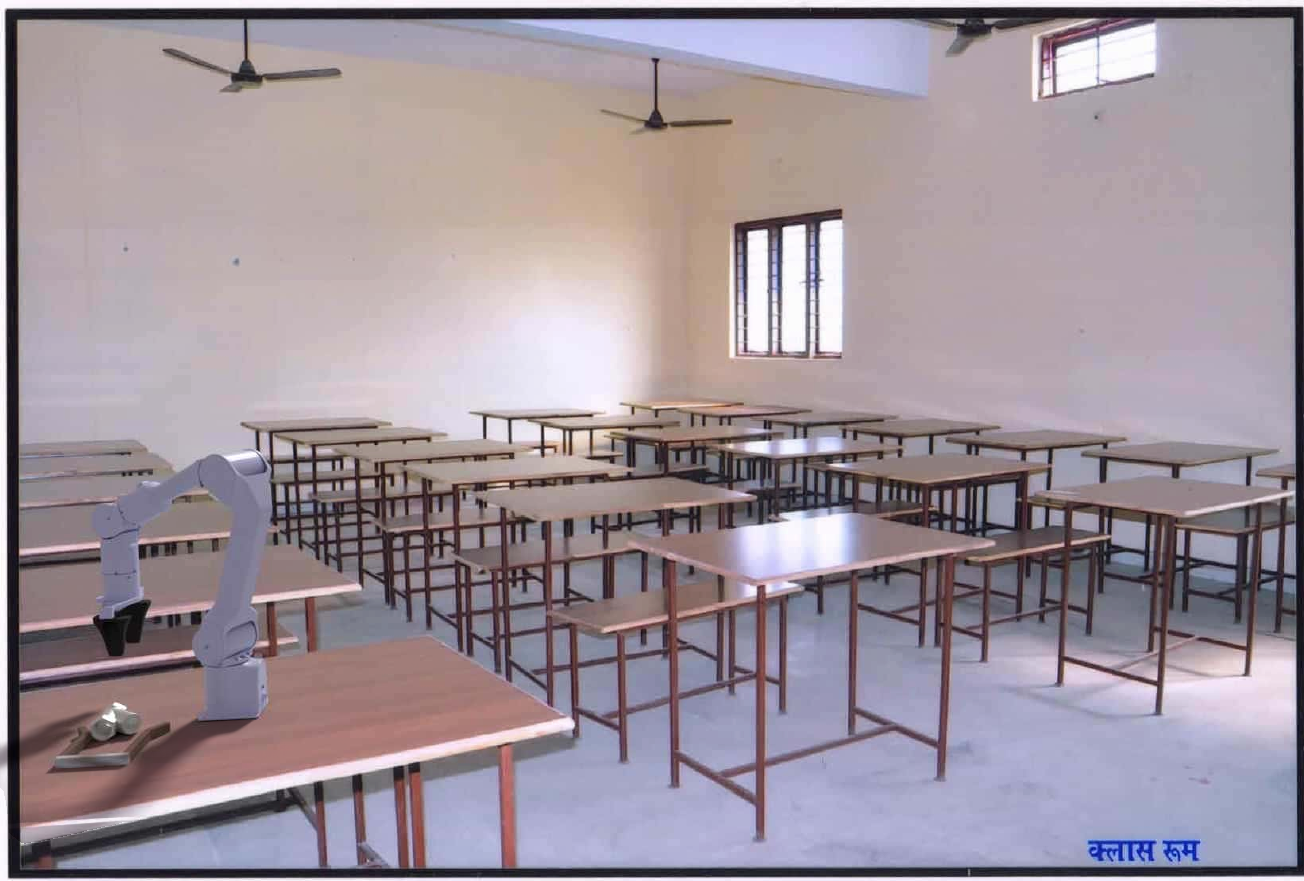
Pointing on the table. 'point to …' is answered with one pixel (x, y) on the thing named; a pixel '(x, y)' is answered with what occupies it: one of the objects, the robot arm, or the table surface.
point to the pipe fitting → (115, 722)
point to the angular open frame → (109, 759)
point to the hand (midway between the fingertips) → (124, 649)
